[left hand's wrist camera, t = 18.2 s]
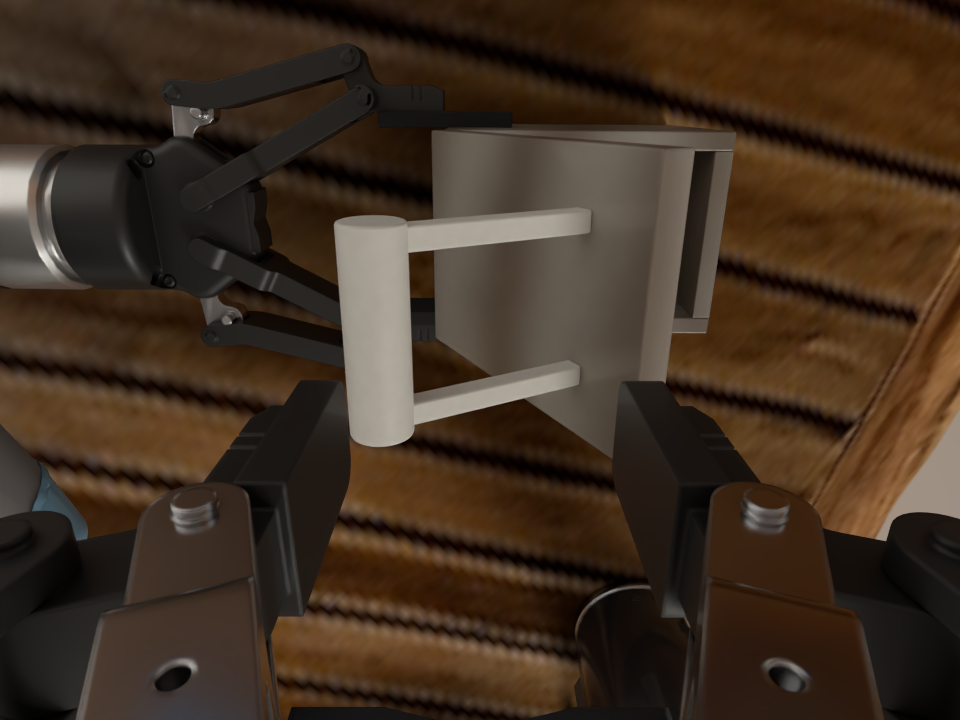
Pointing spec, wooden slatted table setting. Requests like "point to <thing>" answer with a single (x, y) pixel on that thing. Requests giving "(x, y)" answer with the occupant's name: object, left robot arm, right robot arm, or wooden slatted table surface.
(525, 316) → the lid
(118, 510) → the wooden slatted table surface
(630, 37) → the wooden slatted table surface
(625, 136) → the chest
